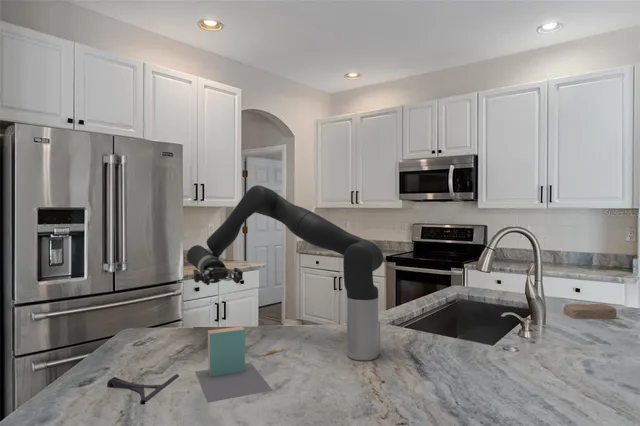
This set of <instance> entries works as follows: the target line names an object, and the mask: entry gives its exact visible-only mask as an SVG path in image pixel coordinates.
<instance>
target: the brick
mask: <svg viewBox="0 0 640 426" xmlns="http://www.w3.org/2000/svg"><path fill="white" fill-rule="evenodd" d="M562 311H563V314H564V315H565V316H568V317H569V318H571V319H577V320H582V319H583V320H586V319H587V320H613V319H616V318H617V314H618V312H617V308H616V307H615V306H611V305H608V304H605V303H590V304H586V303H585V304H584V303H583V304H581V303H572V304H571V303H565V304H564V307H563V310H562Z"/></svg>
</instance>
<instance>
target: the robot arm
mask: <svg viewBox="0 0 640 426" xmlns="http://www.w3.org/2000/svg"><path fill="white" fill-rule="evenodd" d="M255 213H256V214H259V215H262V216H265V217H269V218H272V219H273V220H276V221H278V222H280V223H282V224H283V225H285V227H286V228H287V229H288V230H289V231H290V232H291V233H292V234H293V235H295V236H296V237H297V238H299V239H301V240H303V241H304V242H306V243H308V244H310V245H313V246H315V247H317V248H321V249H325V250H328V251H331V252H335V253H337V254H340V255H341V256H343V260H342V261H343V263H342V264H343V265H342V266H343V286H344V289H345V291H346V356H347V357H349V358H350V359H351V360H356V361H371V360H375V359H377V358H378V357H379V355H380V354H381V322H380V321H379V288H378V286H376V285H375V284H374V277H373V276H374V273H373V272H375V271H376V270H378V269H379V268H380V267H381V266H382V265H383V262H384V254H383V252H382V251H383V250H381V248H380V247H379V246H378V245H377V244H376V243H374V242H372V241H370V240H367V239H364V238H362V237H360V236H358V235H355V234H352V233H350V232H349V231H346V230H344V229H343V228H341V227H340V226H338V225H337V224H335V223H333V222H331V221H329V220H328V219H326V218H324V217H323V216H320V215H319V214H317V213H315V212H313V211H311V210H309V209H307V208H304V207H302V206H300V205H295V204H293V203H291V202H290V201H288V200H287V199H285V198H284V197H283V196H282V195H280V194H279V193H277V192H276V191H275V190H273V189H271V188H268V187H265V186H263V185H258V184H256V185H253V186H252V187H250V188H249V189H248V190H247V191H246V192H245V194H244V195H243V196H242V197H241V199H240V200H239V202H238V203H237V204H236V206H235V208H233V210H232V212H230V214H229V216H228V217H227V218H226V219H225V220H224V222H222V224H221V225H220V226H219V227H218V228H217V229H216V230H215V231H214V232H213V233H212V234H211V235H210V236H209V237H208V238H207V240H206V245H207V247H208V249H209V250H210V251H209V250H208V249H206V247H203V246H202V245H199V244H197V245H196V244H195V245H193V246H191V247H190V248H189V249H188V251H187V253H186V260H187V262H188V263H189V264H190V265H192V266H193V267H194V268H196V269H193V270H192V272H193V273H192V274H193V275H192V279H193V281H194V283H200V282H201V283H203V284H205V285H206V286H210V284H216V283H217V284H218V283H219V282H221V281H225V282H230V281H233V282H234V283H235V284H239V283H240V282H241V281H242V280H243V279H244V278H243V273H244V271H242V270H240V269H239V268H238V267H234V268H233V270H232V269H230V268H227V266H226V265H225V264H224V262H222V261H221V260H220V257H221V255H222V254H223V253H224V251H225V250H226V249H227V248H228V247H229V246H230V245H232V244H233V243H234V242H235V240H236V239H237V238H238V235H239V233H240V232H241V228H242V226H243V224H244V223H245V222H246V220H247V219H248V218H250V217H251V216H253V215H254V214H255Z"/></svg>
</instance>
